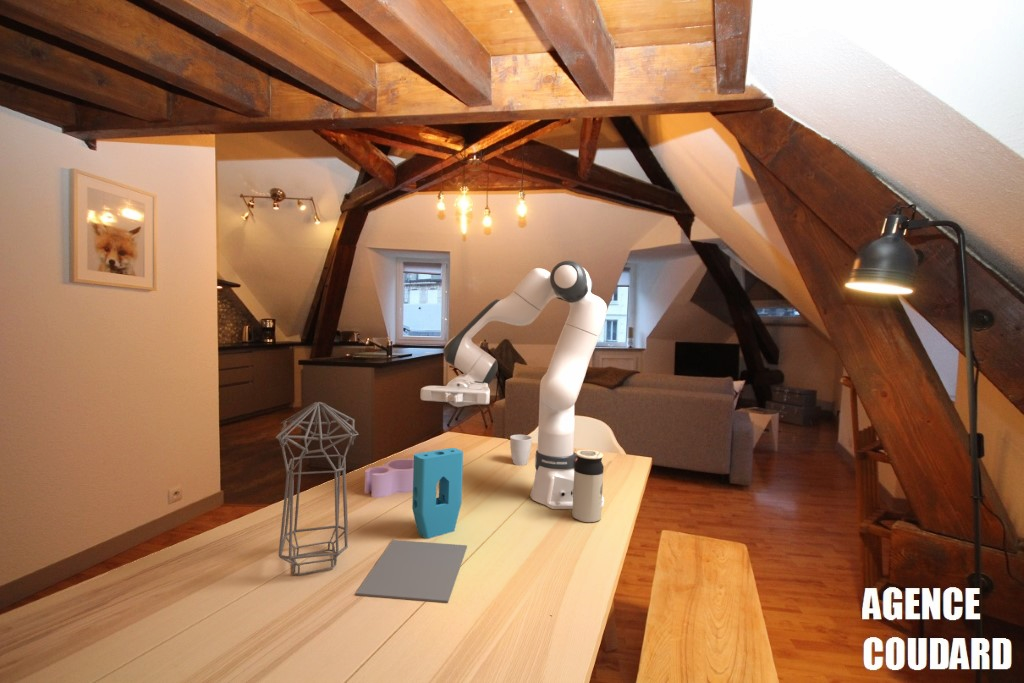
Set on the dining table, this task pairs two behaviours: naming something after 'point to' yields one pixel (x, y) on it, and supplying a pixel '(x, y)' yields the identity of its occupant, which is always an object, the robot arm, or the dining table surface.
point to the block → (428, 509)
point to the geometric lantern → (286, 437)
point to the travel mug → (588, 486)
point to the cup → (520, 448)
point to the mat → (415, 571)
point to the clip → (390, 478)
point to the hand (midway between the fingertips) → (450, 399)
